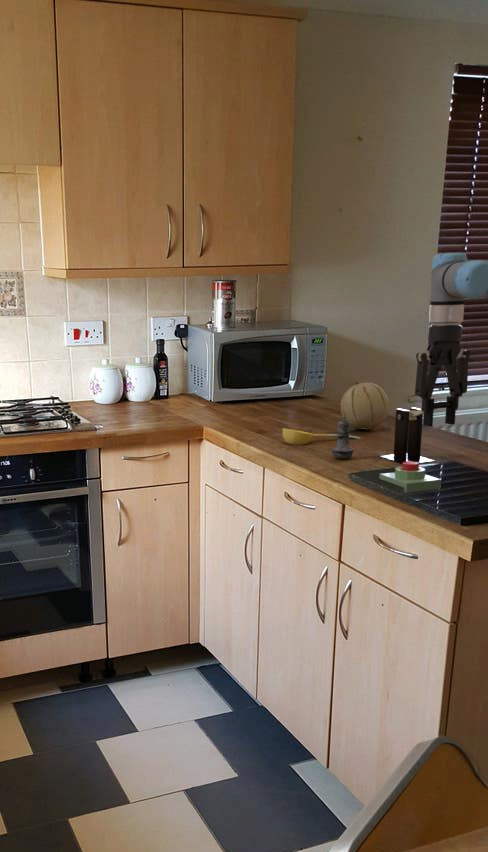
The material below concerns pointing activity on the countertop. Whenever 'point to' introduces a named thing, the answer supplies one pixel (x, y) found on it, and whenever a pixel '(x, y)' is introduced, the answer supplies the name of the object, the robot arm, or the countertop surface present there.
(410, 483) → the control block
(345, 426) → the grey chess piece
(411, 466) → the button
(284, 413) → the countertop surface
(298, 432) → the ladle
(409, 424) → the bracket
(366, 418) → the cantaloupe
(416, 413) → the lever
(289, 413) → the countertop surface
